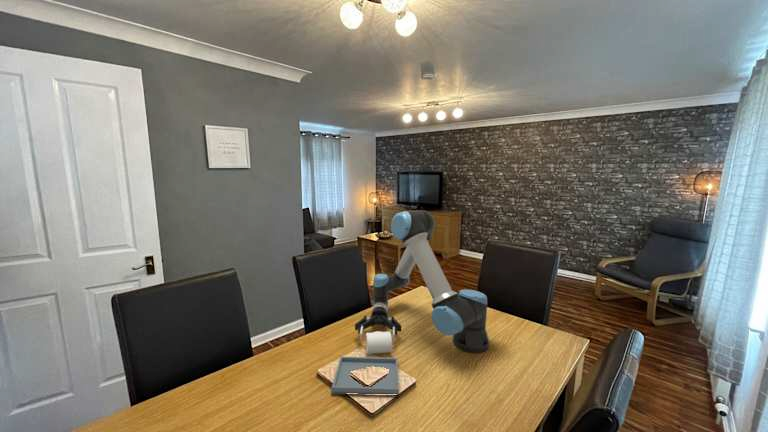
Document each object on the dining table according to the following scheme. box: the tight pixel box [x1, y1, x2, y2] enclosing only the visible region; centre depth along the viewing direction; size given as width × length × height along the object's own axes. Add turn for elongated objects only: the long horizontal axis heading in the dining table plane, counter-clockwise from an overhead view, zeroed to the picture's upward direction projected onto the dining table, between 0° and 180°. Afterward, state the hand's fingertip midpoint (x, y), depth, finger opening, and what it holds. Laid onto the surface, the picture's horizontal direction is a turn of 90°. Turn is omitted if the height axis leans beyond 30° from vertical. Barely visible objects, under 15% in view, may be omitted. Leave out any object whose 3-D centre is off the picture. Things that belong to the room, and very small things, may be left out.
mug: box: [365, 330, 393, 355], centre depth 125 cm, size 12×10×8 cm
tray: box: [331, 355, 400, 396], centre depth 107 cm, size 22×17×2 cm
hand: (377, 337), depth 123 cm, fingers open, 13 cm apart
